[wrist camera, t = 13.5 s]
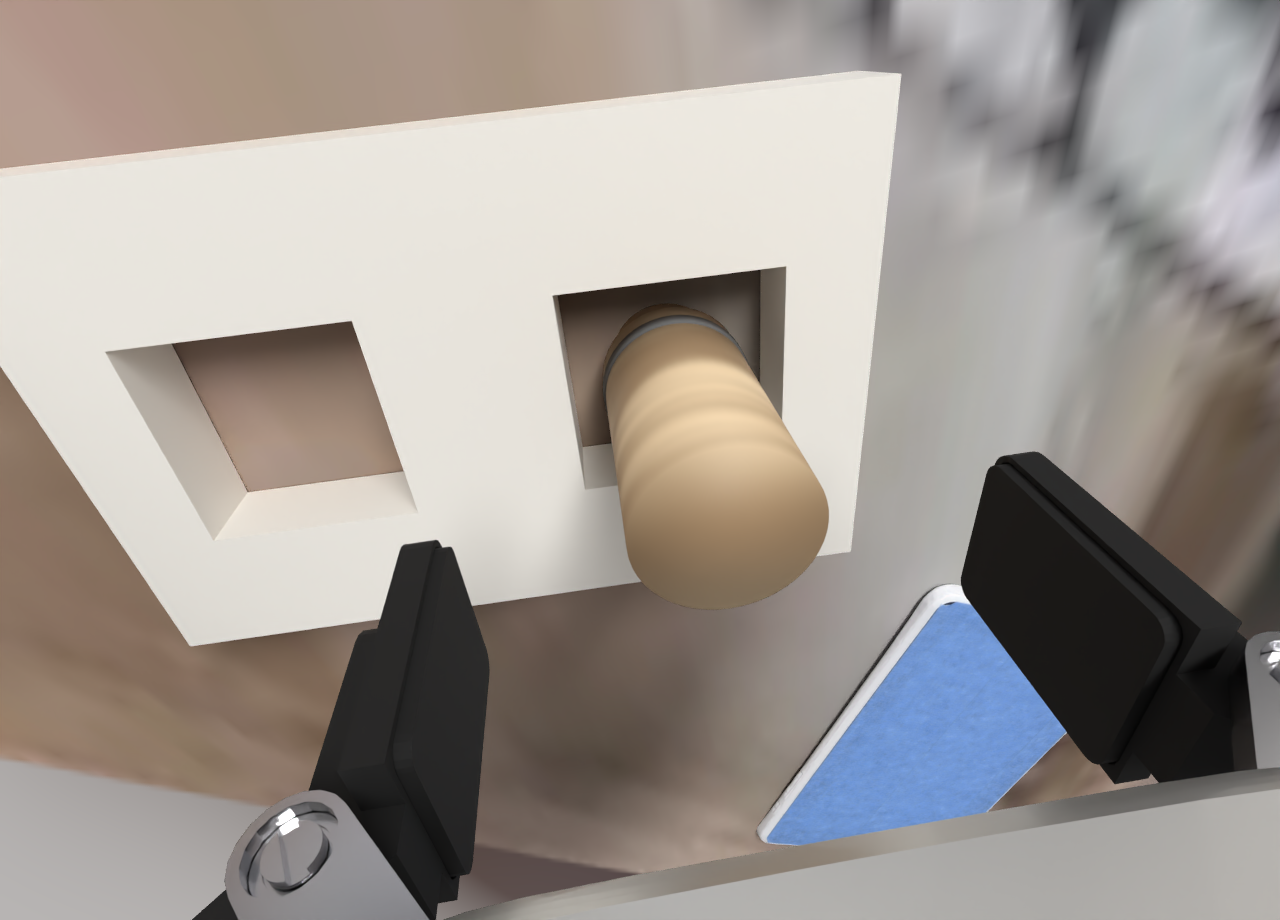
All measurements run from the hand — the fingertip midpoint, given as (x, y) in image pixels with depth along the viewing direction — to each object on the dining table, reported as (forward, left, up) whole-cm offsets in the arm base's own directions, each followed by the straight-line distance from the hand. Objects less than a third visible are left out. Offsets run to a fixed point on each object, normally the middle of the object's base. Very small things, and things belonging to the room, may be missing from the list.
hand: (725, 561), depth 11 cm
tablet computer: (+23, +13, -11) cm, 29 cm away
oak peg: (0, 0, -10) cm, 10 cm away
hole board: (0, -5, -10) cm, 11 cm away
